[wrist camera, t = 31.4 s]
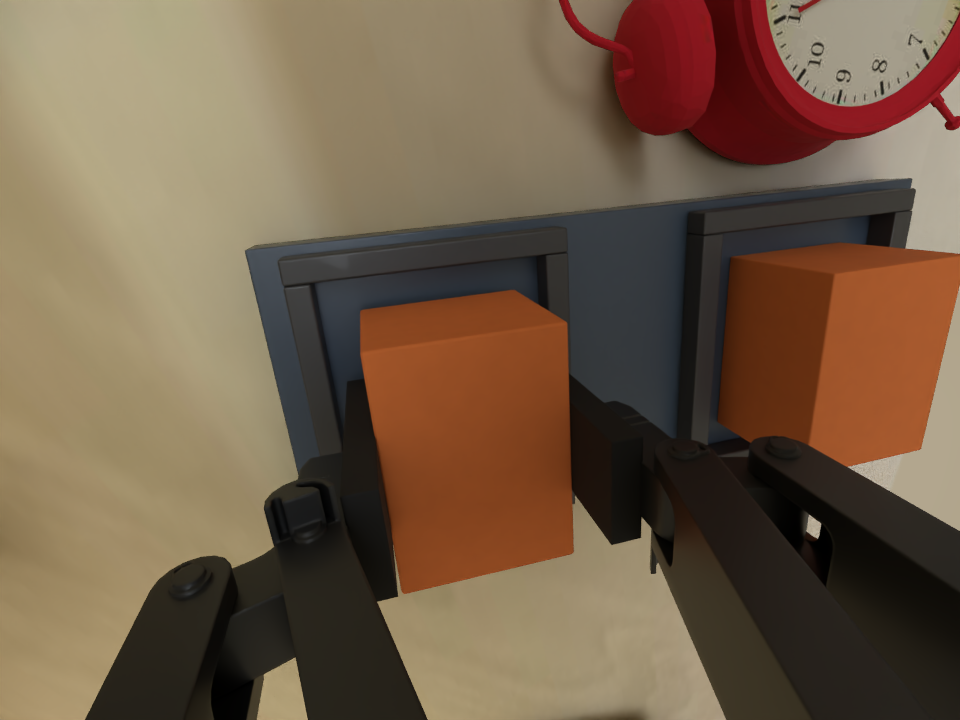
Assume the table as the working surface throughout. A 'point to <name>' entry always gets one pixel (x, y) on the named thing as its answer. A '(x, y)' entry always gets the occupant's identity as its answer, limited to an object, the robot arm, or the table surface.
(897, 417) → the small orange cuboid
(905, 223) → the backplate
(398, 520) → the orange rectangular block
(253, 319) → the table surface
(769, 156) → the alarm clock
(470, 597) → the table surface
